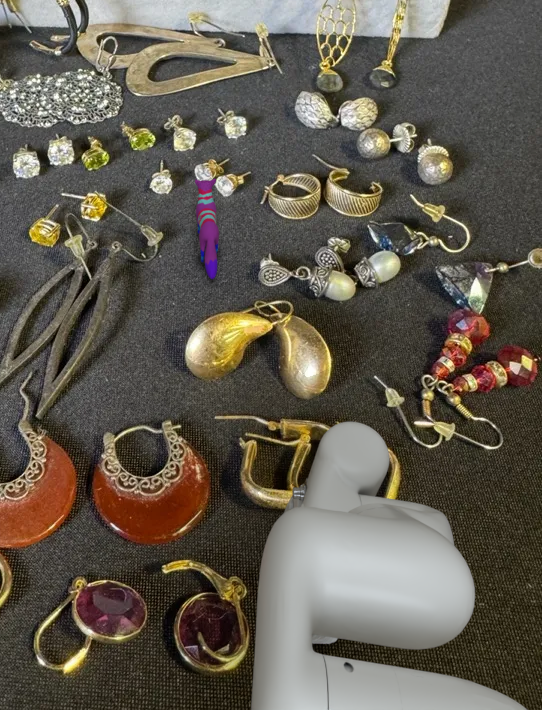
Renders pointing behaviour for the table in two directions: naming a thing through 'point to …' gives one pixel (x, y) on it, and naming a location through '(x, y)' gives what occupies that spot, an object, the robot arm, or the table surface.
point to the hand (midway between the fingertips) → (313, 552)
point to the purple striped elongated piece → (207, 226)
